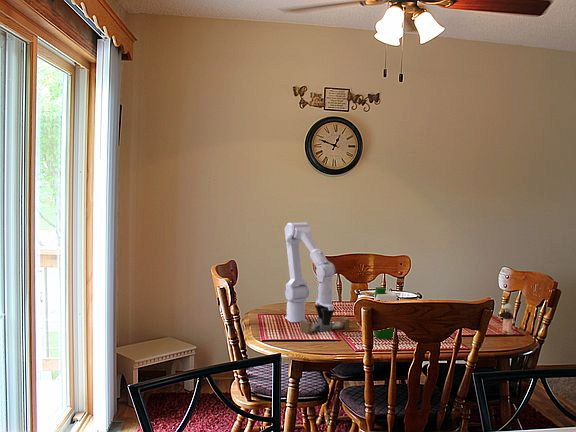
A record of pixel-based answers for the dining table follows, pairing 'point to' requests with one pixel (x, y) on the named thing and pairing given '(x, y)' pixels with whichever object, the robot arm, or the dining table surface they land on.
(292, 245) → the robot arm
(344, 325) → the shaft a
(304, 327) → the brown lumpy block
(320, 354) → the dining table surface
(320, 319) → the coupler
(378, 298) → the milk carton
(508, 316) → the grandmother figurine
